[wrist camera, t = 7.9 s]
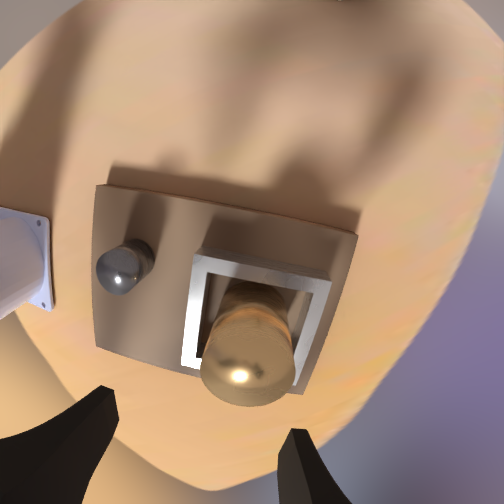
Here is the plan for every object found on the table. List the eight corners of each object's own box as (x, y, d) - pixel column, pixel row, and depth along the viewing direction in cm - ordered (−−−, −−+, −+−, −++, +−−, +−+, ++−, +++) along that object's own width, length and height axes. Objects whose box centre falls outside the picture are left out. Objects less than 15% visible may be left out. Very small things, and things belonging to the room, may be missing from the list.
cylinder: (216, 334, 17) (198, 399, 11) (223, 276, 16) (202, 327, 10) (279, 343, 17) (284, 410, 11) (291, 285, 16) (305, 341, 10)
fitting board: (102, 338, 19) (77, 367, 15) (105, 184, 16) (67, 188, 12) (301, 384, 20) (307, 424, 15) (352, 231, 16) (378, 249, 12)
